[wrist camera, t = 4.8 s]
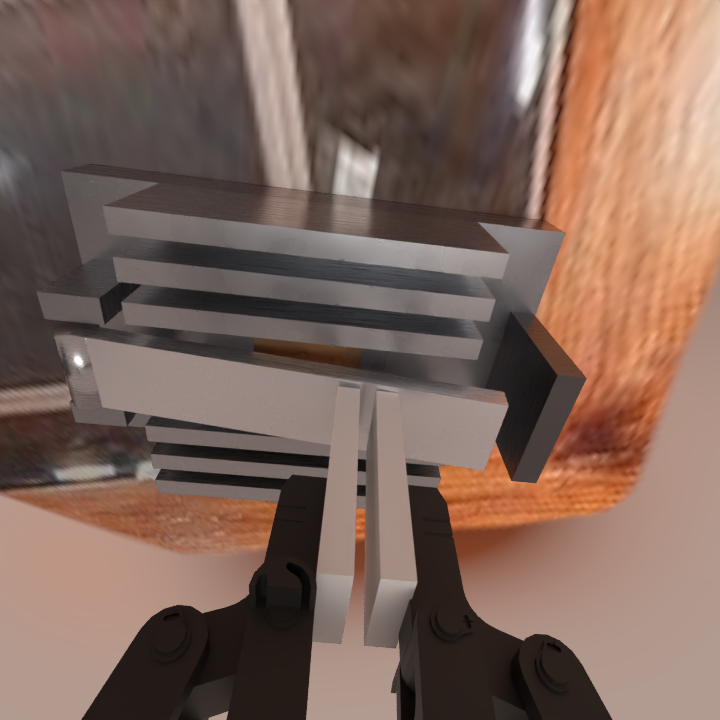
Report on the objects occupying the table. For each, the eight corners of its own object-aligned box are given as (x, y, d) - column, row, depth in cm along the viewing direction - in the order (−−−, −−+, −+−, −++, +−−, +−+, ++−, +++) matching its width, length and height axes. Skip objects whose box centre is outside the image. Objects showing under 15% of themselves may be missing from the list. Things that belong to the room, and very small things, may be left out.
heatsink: (137, 401, 23) (60, 505, 17) (90, 164, 17) (-56, 197, 11) (474, 432, 24) (511, 539, 18) (545, 220, 18) (638, 278, 12)
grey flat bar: (89, 385, 17) (64, 406, 16) (71, 318, 15) (42, 335, 14) (479, 450, 16) (485, 476, 15) (502, 387, 15) (510, 411, 14)
